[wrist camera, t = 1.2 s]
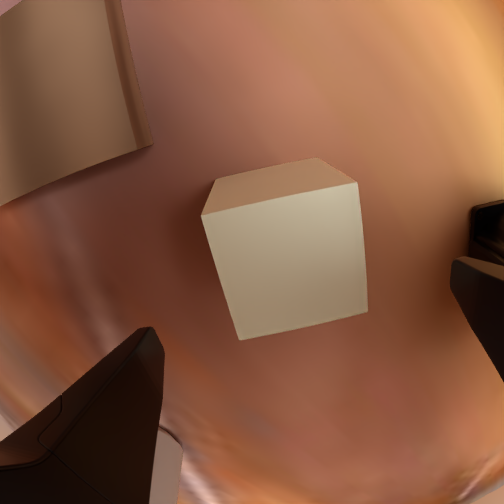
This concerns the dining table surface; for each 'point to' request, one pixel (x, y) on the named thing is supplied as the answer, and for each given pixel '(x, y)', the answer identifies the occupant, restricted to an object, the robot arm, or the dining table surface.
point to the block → (287, 246)
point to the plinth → (65, 92)
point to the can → (166, 469)
